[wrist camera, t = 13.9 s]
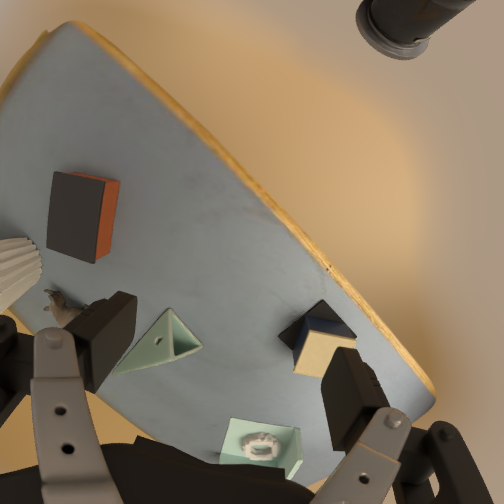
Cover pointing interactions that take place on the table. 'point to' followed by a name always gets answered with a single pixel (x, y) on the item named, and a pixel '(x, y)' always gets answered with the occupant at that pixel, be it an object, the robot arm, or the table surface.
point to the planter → (161, 345)
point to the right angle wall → (262, 446)
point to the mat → (317, 311)
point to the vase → (17, 269)
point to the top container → (319, 345)
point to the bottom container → (81, 215)
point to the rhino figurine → (61, 308)
